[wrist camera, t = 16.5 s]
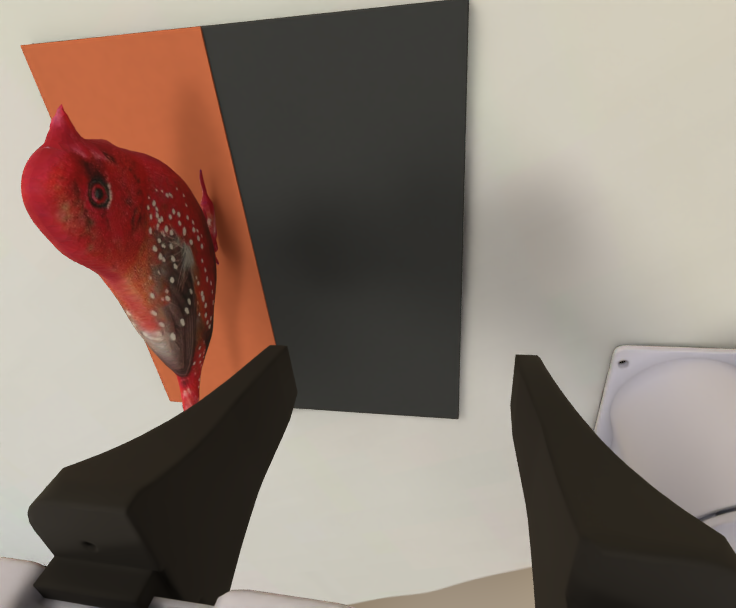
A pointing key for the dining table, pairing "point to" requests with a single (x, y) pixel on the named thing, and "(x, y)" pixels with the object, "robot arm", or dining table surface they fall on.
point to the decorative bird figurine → (132, 239)
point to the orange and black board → (306, 186)
